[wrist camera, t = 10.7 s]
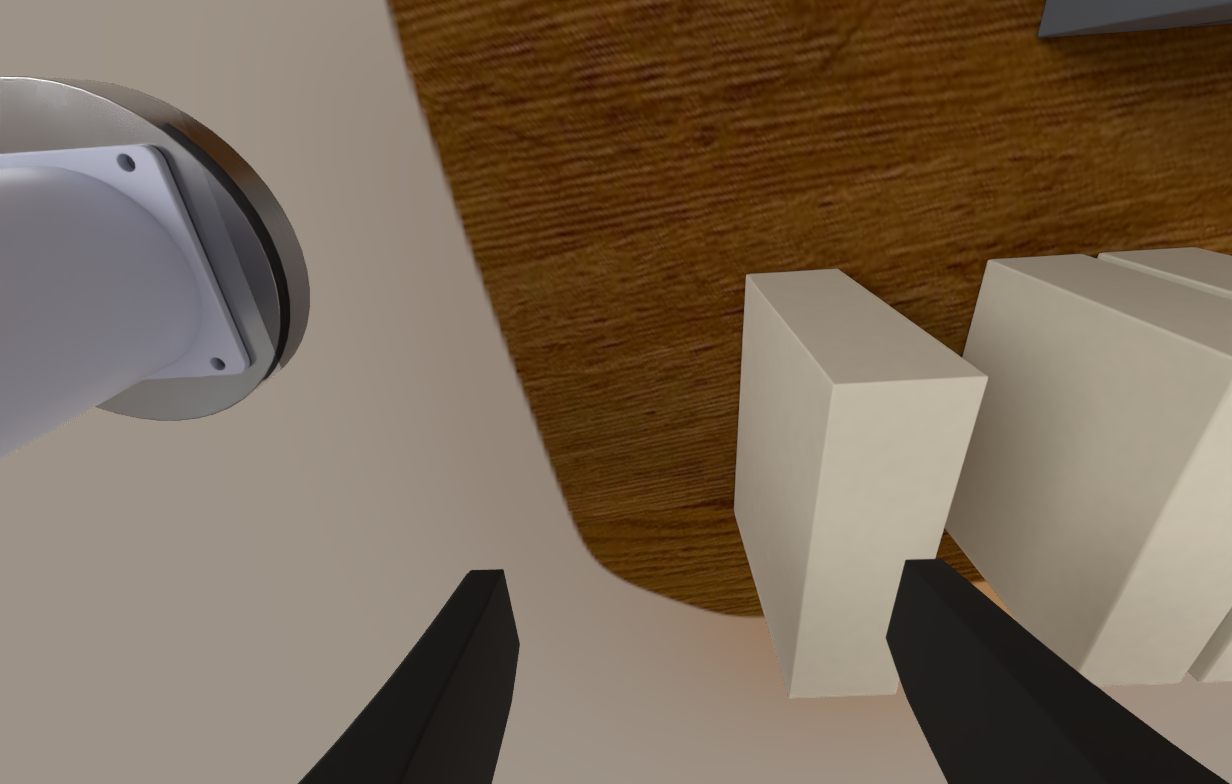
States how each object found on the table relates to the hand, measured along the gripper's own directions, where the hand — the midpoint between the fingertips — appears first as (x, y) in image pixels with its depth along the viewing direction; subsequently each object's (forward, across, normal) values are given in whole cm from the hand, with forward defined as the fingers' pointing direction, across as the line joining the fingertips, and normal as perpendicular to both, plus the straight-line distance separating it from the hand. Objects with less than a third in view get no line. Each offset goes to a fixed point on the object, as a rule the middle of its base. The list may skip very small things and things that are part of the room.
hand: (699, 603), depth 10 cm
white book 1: (+10, -4, +2) cm, 11 cm away
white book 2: (+11, -12, +2) cm, 16 cm away
